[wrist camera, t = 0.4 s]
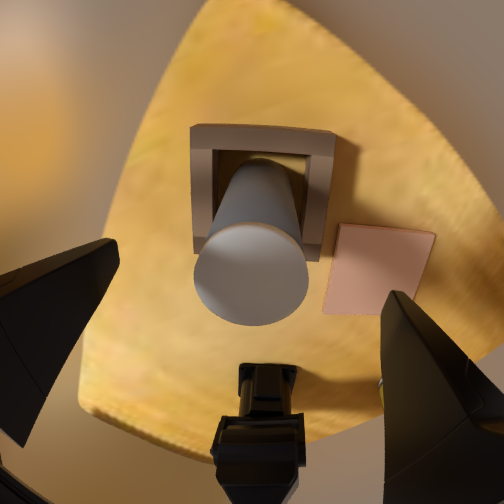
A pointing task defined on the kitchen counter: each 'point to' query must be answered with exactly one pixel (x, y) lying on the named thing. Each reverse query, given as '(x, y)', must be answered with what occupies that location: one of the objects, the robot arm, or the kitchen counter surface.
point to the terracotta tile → (374, 267)
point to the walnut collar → (272, 140)
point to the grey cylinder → (254, 249)
